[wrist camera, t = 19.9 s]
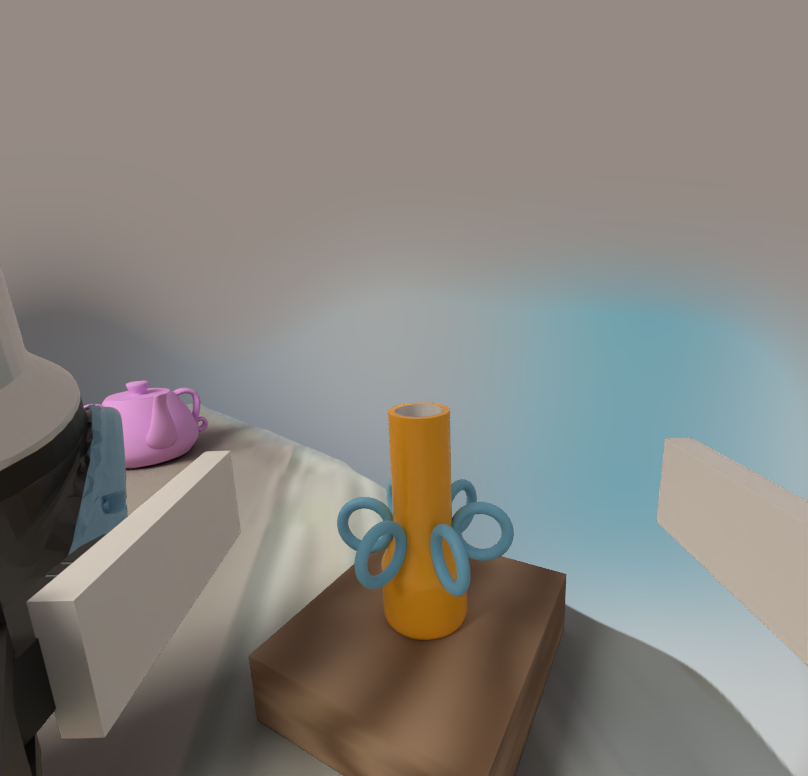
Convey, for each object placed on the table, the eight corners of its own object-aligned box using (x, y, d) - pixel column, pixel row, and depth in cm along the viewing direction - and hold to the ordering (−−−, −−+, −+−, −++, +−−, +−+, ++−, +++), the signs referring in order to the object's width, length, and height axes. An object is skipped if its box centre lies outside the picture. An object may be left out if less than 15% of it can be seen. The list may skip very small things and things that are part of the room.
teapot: (98, 498, 65) (80, 406, 62) (65, 463, 80) (49, 387, 77) (241, 454, 81) (232, 379, 78) (192, 432, 95) (182, 368, 92)
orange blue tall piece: (319, 660, 28) (297, 434, 25) (361, 563, 39) (350, 392, 35) (517, 682, 26) (522, 438, 23) (508, 573, 36) (510, 392, 33)
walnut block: (257, 719, 30) (248, 656, 29) (398, 572, 45) (396, 527, 44) (484, 867, 22) (483, 786, 21) (563, 628, 37) (566, 574, 36)
